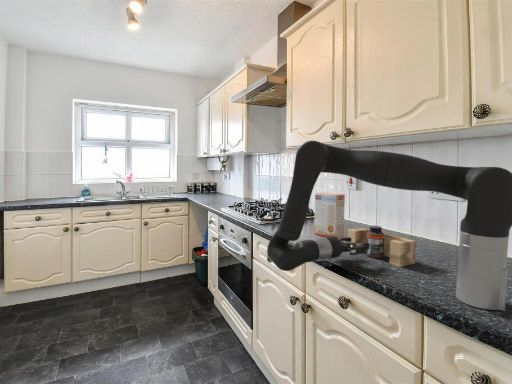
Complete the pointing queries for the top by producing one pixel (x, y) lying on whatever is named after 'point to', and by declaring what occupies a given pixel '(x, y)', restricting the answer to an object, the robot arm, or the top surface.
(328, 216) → the cracker box
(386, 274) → the top surface
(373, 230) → the supplement bottle
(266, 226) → the top surface
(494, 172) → the robot arm
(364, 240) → the oak bracket
